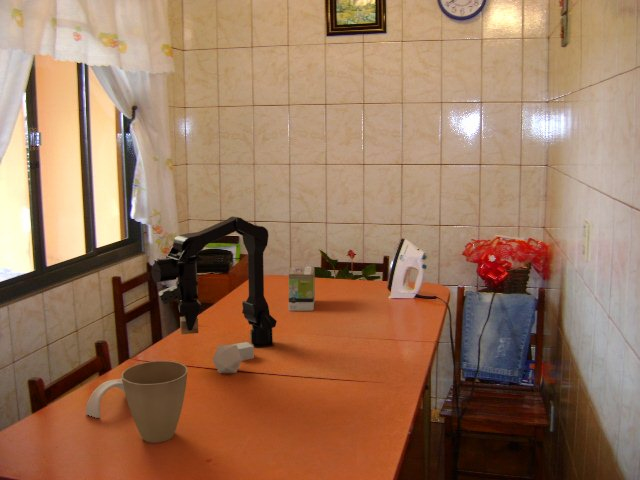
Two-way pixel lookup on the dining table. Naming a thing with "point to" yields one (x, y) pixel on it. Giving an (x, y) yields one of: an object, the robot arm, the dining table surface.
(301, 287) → the tea box
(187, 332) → the walnut block
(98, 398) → the white curved arch
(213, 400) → the dining table surface
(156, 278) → the robot arm
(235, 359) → the pale faceted polyhedron
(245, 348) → the grey block
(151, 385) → the plant pot
